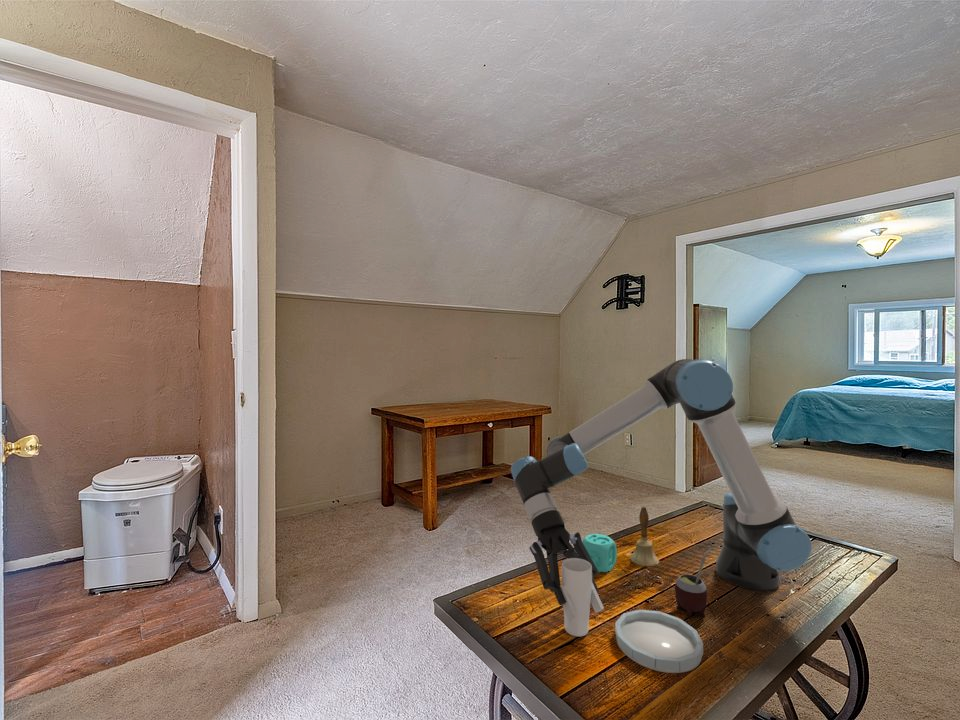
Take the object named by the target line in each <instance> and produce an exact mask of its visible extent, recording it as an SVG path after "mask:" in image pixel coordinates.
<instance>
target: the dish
mask: <svg viewBox="0 0 960 720" xmlns="http://www.w3.org/2000/svg"><path fill="white" fill-rule="evenodd" d="M614 626H615V627H614V628H615V629H614V633H615V639H616V643H617V647H619V649H620V651H621V652H623V654H624V655H625V656H627V657H628V659H630V660H632V661H634V662H635V663H636V664H638V665H641V666H642V667H644V668H647V669H650V670H653V671H656V672H660V673H666V674H681V673H687V672H690V671H692V670H694V669H696V668H697V667H698V666H699V665H700V664H701V663H702V658H703V655H704V642H703V640H702V638H701V637H700V635H699V633H698V631H697V630H696V628H694V627H693V626H691V625H689V624H688V623H687V622H686V621H684V620H683V619H681V618H680V617H677V616H674V615H672V614H669V613H665V612H662V611H659V610H648V609H636V610H632V611H628V612H624V613H622V614H621V615H620V617H618V618H617V621H615V623H614Z"/></svg>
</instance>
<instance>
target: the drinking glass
mask: <svg viewBox="0 0 960 720" xmlns="http://www.w3.org/2000/svg"><path fill="white" fill-rule="evenodd" d="M560 572H561V574H560V575H561V577H560V583H561V587H562V586H565V588H566V591H567V593H568V595H569V598H570V600H571V603H572V605H573V607H574V610H575V612H576V615H577V618H576V619H574V620H573V621H571V622H569V620H568V618H567V616H566V613H565V611H564V610H563V618H564V619H563V620H564V621H563V622H564V624H563V627H564V631H566V633H567V634H569V635H570V636H573V637H584V636H586V635H588V632H589V630H590V629H589V627H590V624H589V622H590V610H591V592H592V565H591V564H590V563H589V562H588V561H586V560H583V559H579V558H569V559H568V558H566V559H563V561H562V562H561V571H560Z"/></svg>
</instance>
